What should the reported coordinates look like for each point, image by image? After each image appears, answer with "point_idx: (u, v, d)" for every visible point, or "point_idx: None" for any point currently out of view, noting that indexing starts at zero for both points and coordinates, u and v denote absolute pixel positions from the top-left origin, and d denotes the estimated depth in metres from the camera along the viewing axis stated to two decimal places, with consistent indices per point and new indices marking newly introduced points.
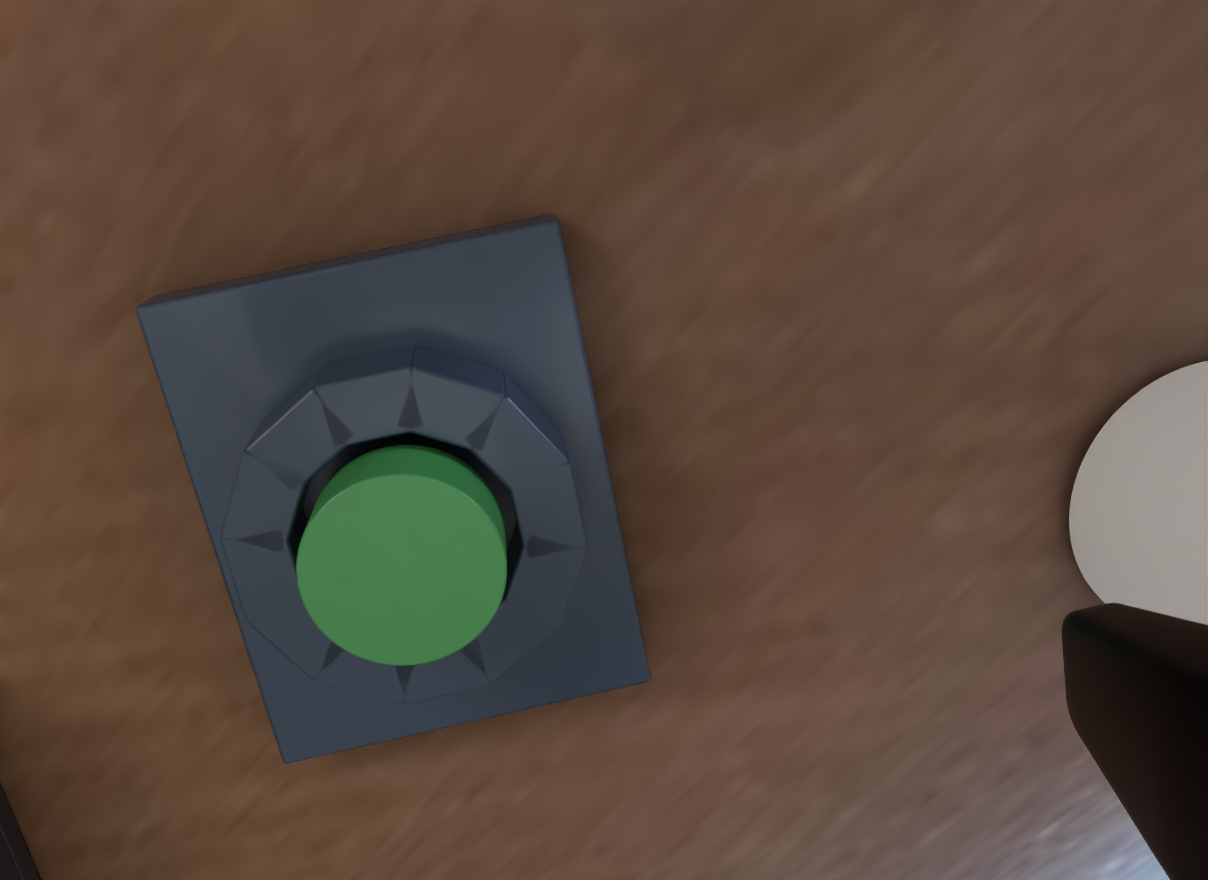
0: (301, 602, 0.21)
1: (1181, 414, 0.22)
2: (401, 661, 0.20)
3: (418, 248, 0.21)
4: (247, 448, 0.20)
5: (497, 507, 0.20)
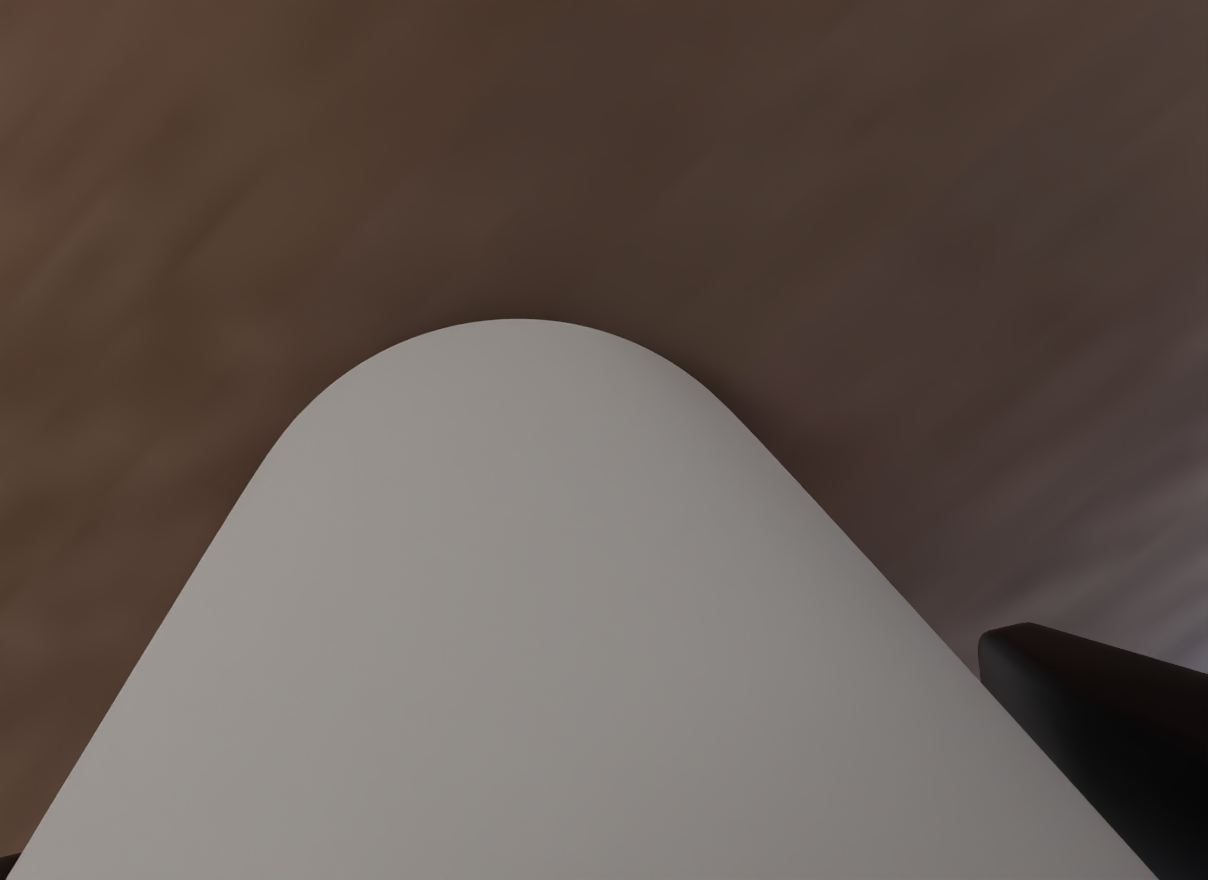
0: None
1: (296, 431, 0.10)
2: None
3: None
4: None
5: None
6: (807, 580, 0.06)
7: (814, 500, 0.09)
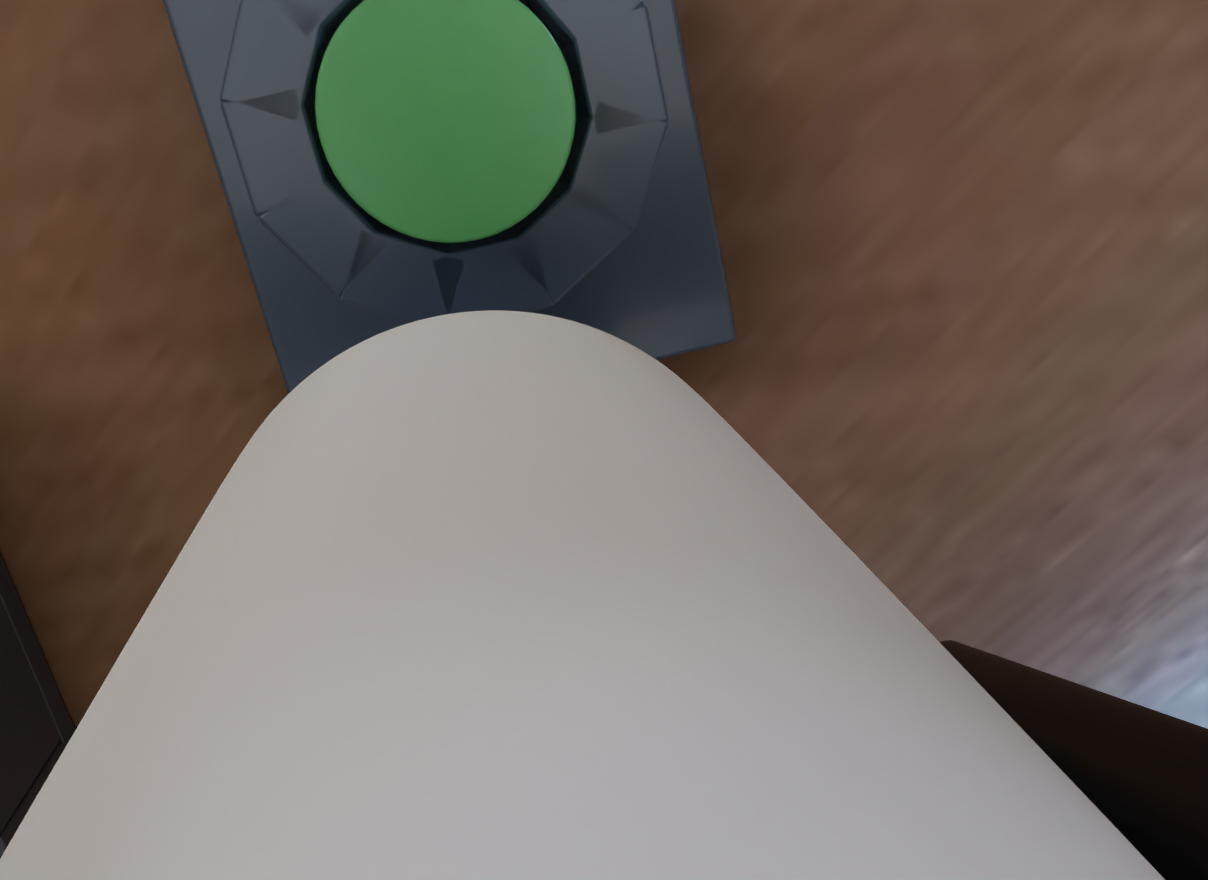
0: (321, 189, 0.17)
1: (276, 421, 0.11)
2: (447, 235, 0.16)
3: None
4: None
5: None
6: (783, 554, 0.06)
7: None
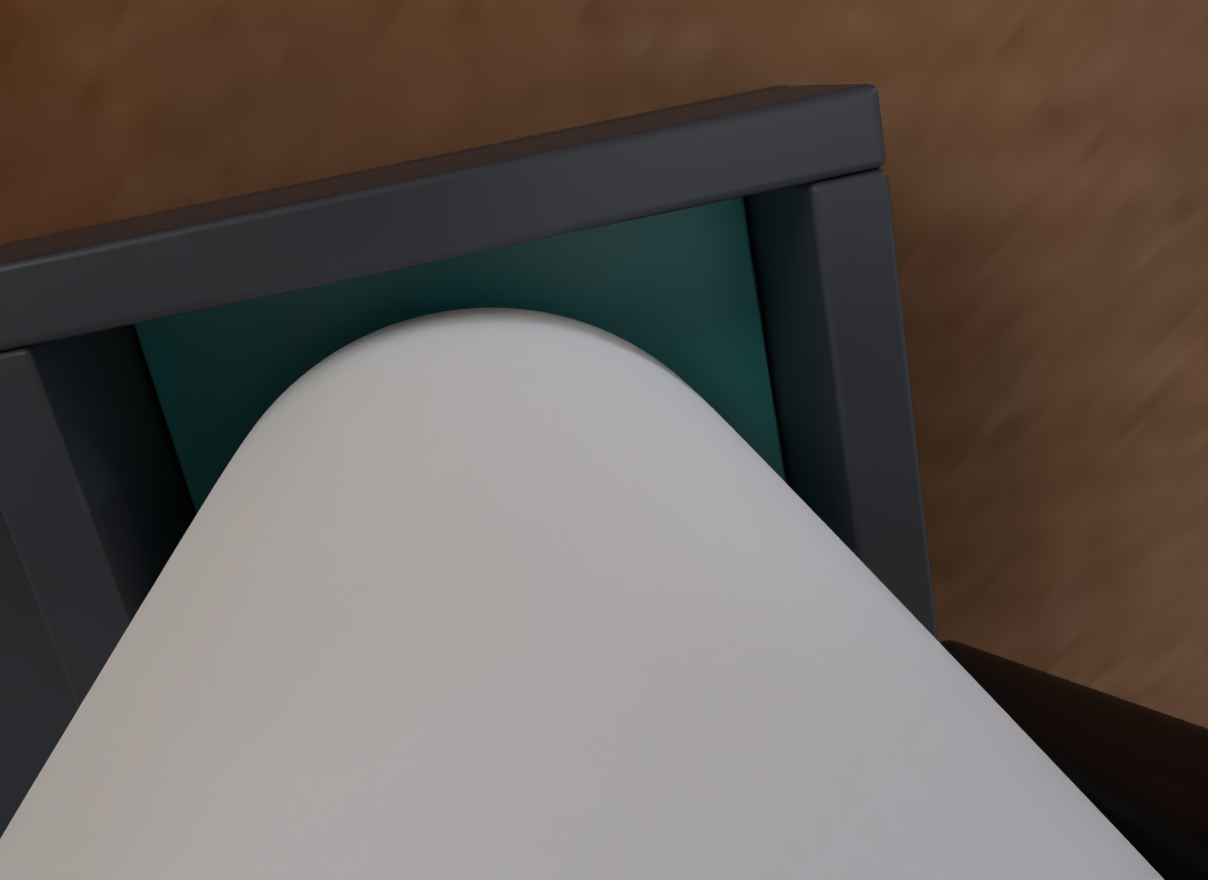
0: None
1: (271, 417, 0.11)
2: None
3: None
4: None
5: None
6: (776, 549, 0.06)
7: (783, 480, 0.10)
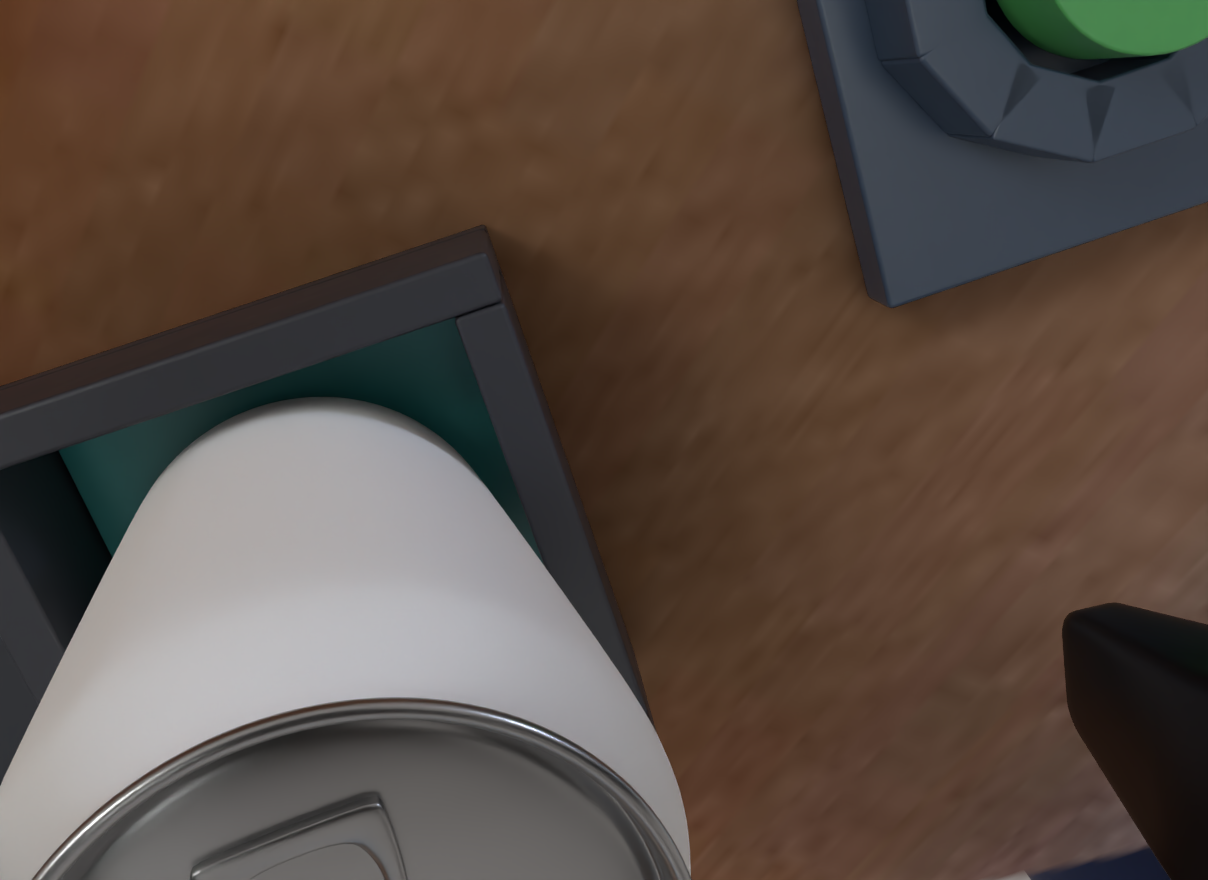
0: (984, 23, 0.17)
1: (155, 488, 0.17)
2: (1153, 47, 0.16)
3: None
4: None
5: None
6: (403, 495, 0.13)
7: (465, 475, 0.16)
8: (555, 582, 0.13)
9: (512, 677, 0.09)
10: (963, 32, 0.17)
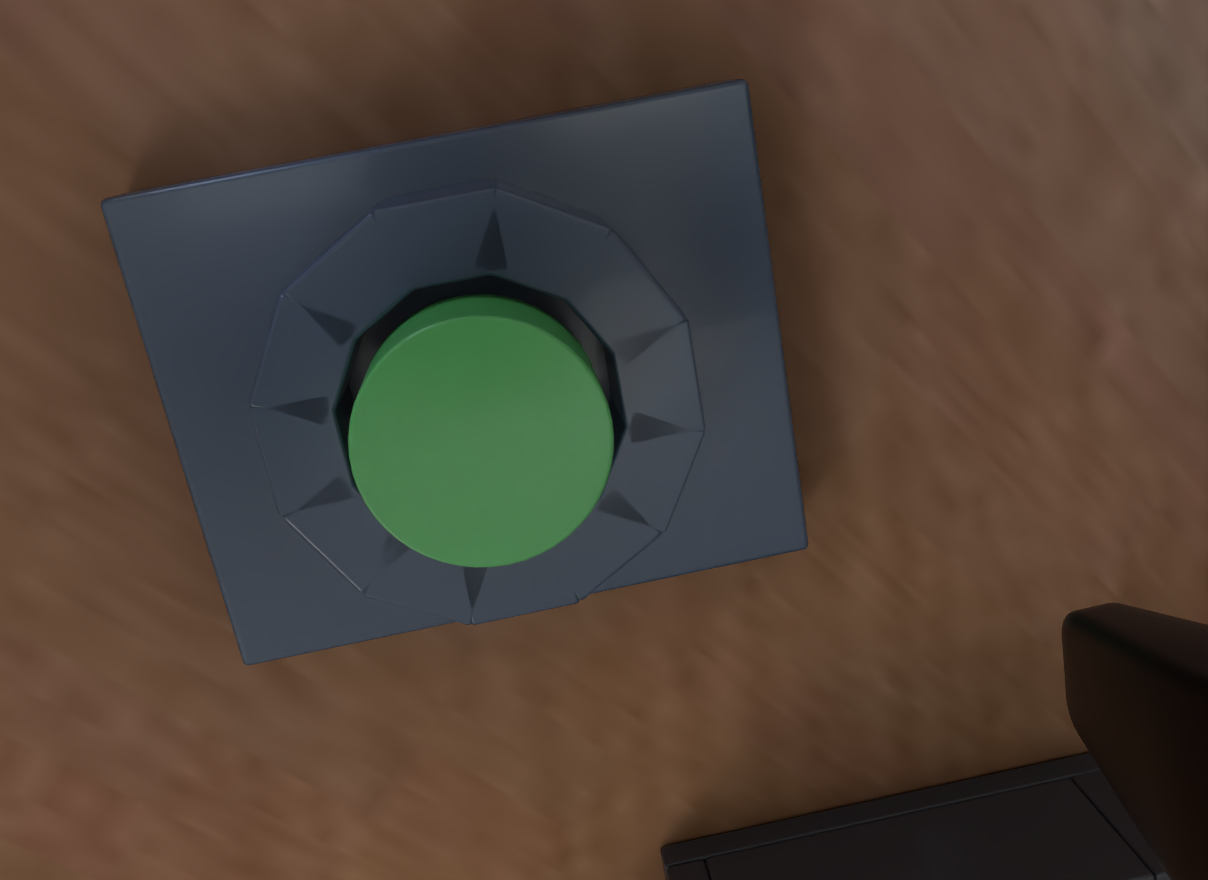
0: None
1: None
2: (606, 451, 0.15)
3: (152, 370, 0.18)
4: (360, 590, 0.17)
5: (433, 308, 0.16)
6: None
7: None
8: None
9: None
10: (561, 562, 0.17)
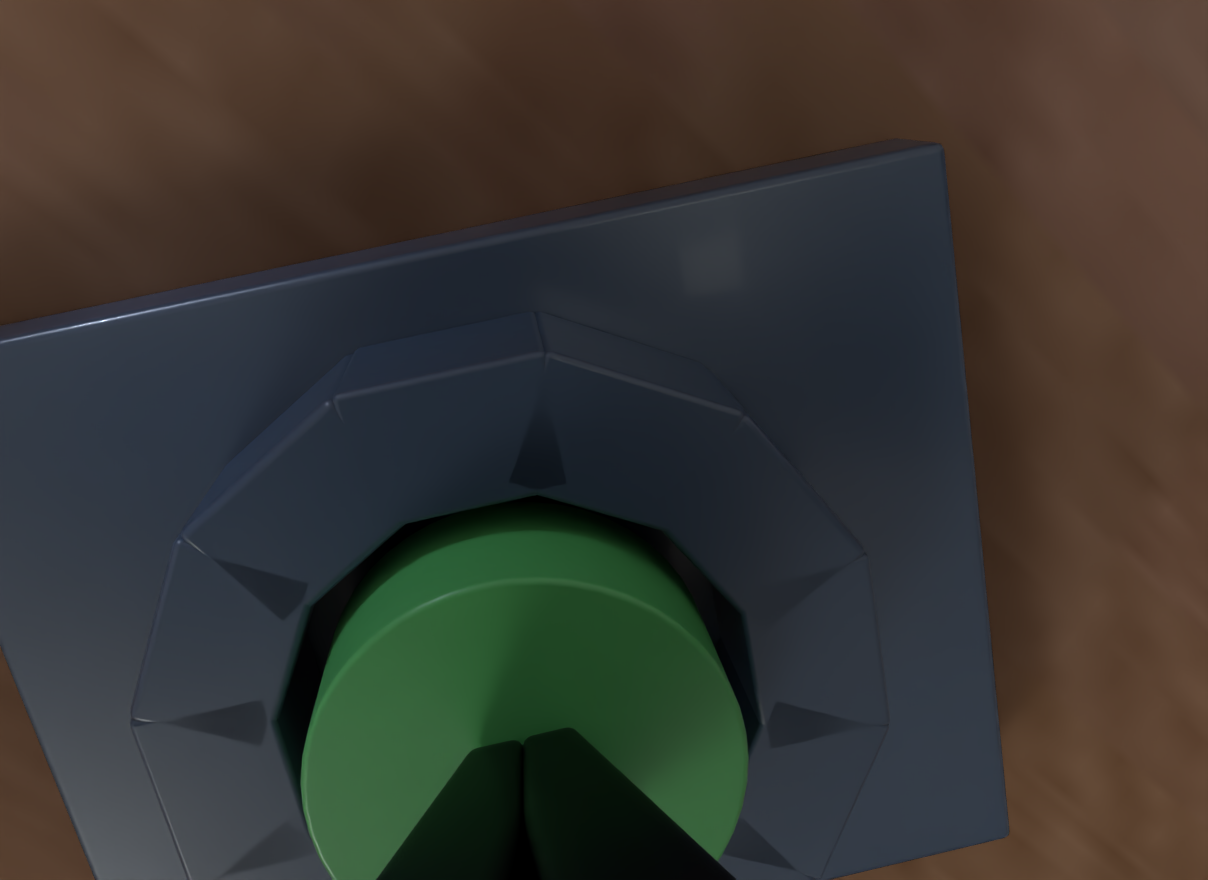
0: None
1: None
2: (736, 783, 0.09)
3: None
4: None
5: (441, 535, 0.10)
6: None
7: None
8: None
9: None
10: None
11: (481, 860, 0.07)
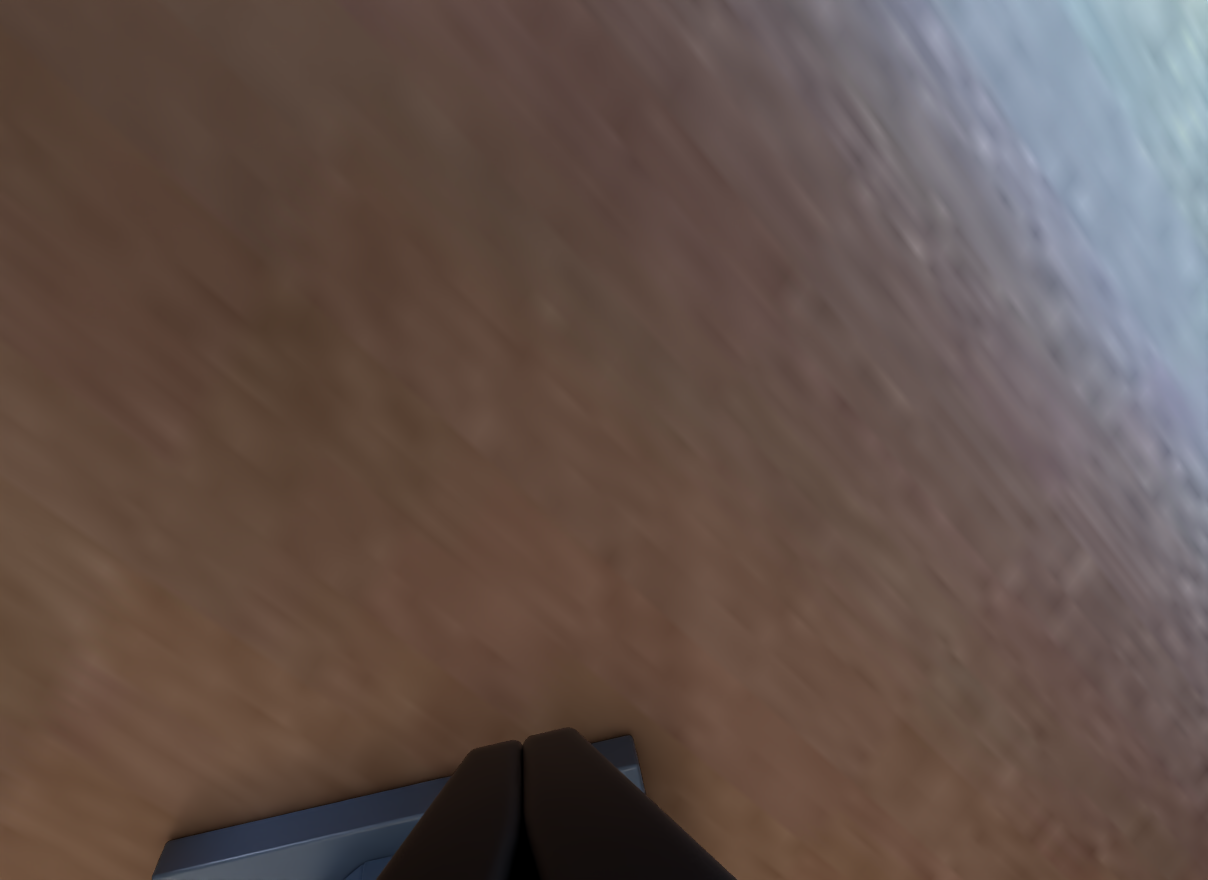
0: None
1: None
2: None
3: None
4: None
5: None
6: None
7: None
8: None
9: None
10: None
11: (481, 860, 0.07)
